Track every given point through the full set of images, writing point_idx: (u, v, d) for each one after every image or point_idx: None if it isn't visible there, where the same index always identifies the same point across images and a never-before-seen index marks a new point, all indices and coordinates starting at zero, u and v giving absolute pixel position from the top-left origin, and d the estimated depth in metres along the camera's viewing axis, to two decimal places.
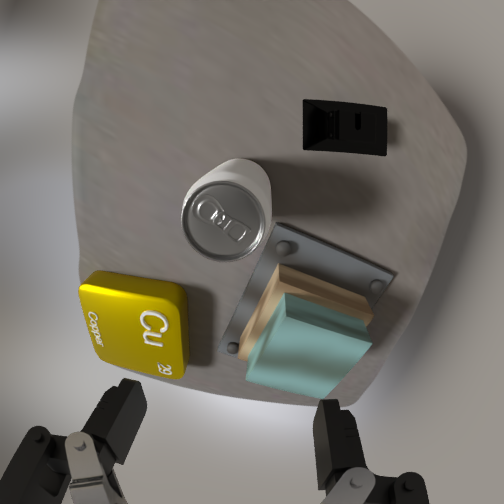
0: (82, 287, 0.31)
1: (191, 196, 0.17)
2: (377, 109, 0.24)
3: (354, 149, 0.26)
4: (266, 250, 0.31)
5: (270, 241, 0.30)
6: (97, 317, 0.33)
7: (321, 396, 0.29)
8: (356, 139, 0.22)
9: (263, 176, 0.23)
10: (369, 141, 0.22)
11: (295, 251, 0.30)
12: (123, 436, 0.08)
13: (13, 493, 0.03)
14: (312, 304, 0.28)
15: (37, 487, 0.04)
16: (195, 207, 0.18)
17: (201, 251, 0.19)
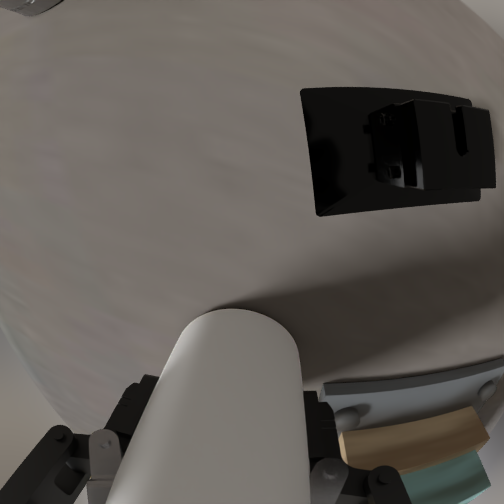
0: None
1: None
2: (459, 102, 0.09)
3: (429, 197, 0.11)
4: None
5: None
6: None
7: None
8: (461, 183, 0.07)
9: (270, 388, 0.08)
10: (485, 184, 0.07)
11: (366, 412, 0.14)
12: None
13: (24, 488, 0.04)
14: (406, 477, 0.11)
15: (51, 485, 0.05)
16: None
17: None
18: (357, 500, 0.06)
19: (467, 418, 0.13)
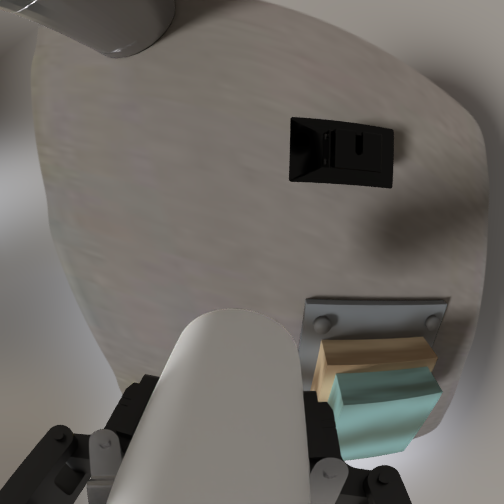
0: None
1: None
2: (383, 130, 0.21)
3: (354, 180, 0.22)
4: (304, 332, 0.26)
5: (305, 322, 0.25)
6: None
7: (401, 449, 0.21)
8: (356, 167, 0.18)
9: (270, 387, 0.09)
10: (373, 169, 0.18)
11: (336, 322, 0.25)
12: None
13: (24, 488, 0.04)
14: (369, 374, 0.22)
15: (51, 485, 0.05)
16: None
17: None
18: (357, 500, 0.06)
19: (418, 343, 0.24)
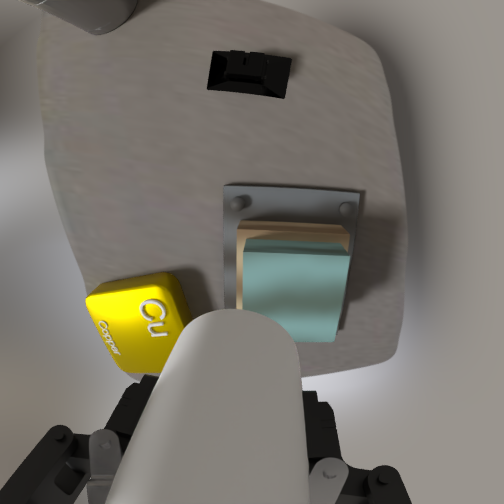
0: (87, 299, 0.35)
1: None
2: (280, 59, 0.27)
3: (252, 91, 0.28)
4: (224, 212, 0.32)
5: (224, 202, 0.32)
6: (107, 325, 0.36)
7: (329, 338, 0.28)
8: (241, 72, 0.24)
9: (269, 388, 0.08)
10: (254, 74, 0.24)
11: (250, 203, 0.32)
12: None
13: (24, 488, 0.04)
14: (277, 241, 0.29)
15: (51, 485, 0.05)
16: None
17: None
18: (357, 500, 0.06)
19: (333, 226, 0.31)
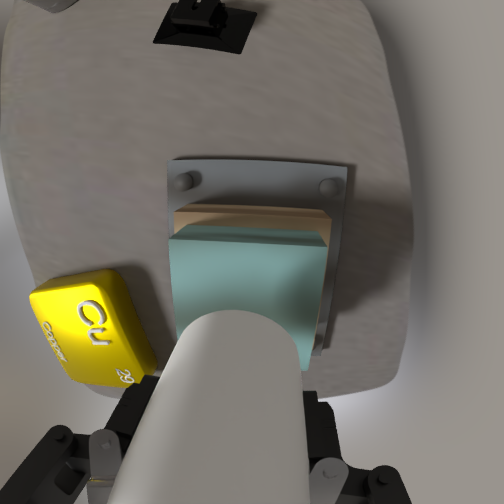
0: (30, 296, 0.26)
1: None
2: (246, 12, 0.19)
3: (204, 44, 0.20)
4: (169, 193, 0.24)
5: (169, 181, 0.24)
6: (50, 327, 0.28)
7: (301, 366, 0.20)
8: (187, 17, 0.16)
9: (269, 389, 0.08)
10: (201, 19, 0.16)
11: (200, 181, 0.24)
12: None
13: (25, 488, 0.04)
14: (227, 227, 0.21)
15: (51, 485, 0.05)
16: None
17: None
18: (357, 500, 0.06)
19: (310, 211, 0.23)
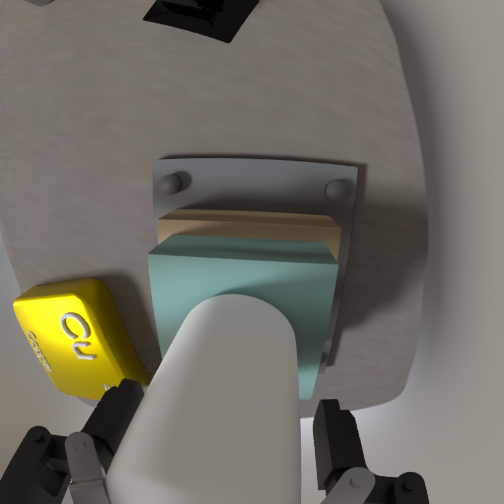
0: (14, 304, 0.23)
1: None
2: None
3: (192, 27, 0.17)
4: (154, 197, 0.21)
5: (154, 183, 0.21)
6: (35, 337, 0.24)
7: (304, 395, 0.17)
8: None
9: (262, 363, 0.10)
10: None
11: (189, 183, 0.21)
12: (123, 436, 0.08)
13: (13, 493, 0.03)
14: (218, 237, 0.18)
15: (37, 487, 0.04)
16: None
17: None
18: None
19: (315, 217, 0.20)
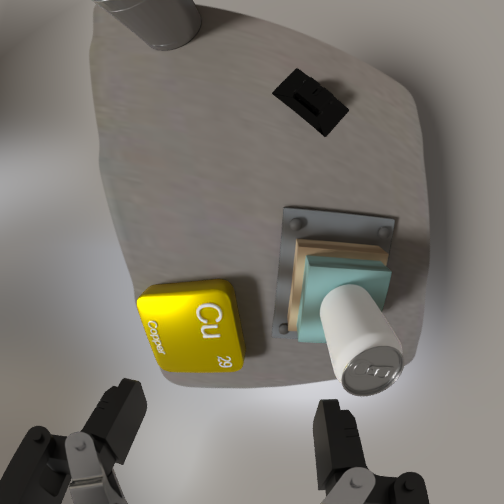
0: (140, 299, 0.39)
1: (347, 365, 0.20)
2: (342, 105, 0.32)
3: (305, 116, 0.33)
4: (283, 231, 0.37)
5: (284, 222, 0.37)
6: (157, 325, 0.40)
7: None
8: (307, 98, 0.29)
9: (375, 305, 0.25)
10: (315, 106, 0.29)
11: (306, 224, 0.37)
12: (123, 436, 0.08)
13: (13, 493, 0.03)
14: (332, 257, 0.33)
15: (37, 487, 0.04)
16: (350, 370, 0.20)
17: (358, 393, 0.21)
18: None
19: (373, 247, 0.36)
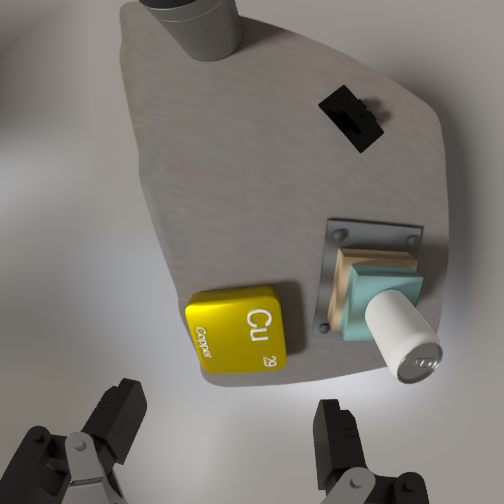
0: (189, 307, 0.42)
1: (403, 360, 0.23)
2: (379, 128, 0.35)
3: (346, 132, 0.36)
4: (327, 241, 0.40)
5: (328, 233, 0.40)
6: (205, 331, 0.43)
7: None
8: (354, 119, 0.31)
9: (415, 308, 0.28)
10: (360, 126, 0.32)
11: (347, 235, 0.39)
12: (123, 436, 0.08)
13: (13, 493, 0.03)
14: (372, 266, 0.36)
15: (37, 487, 0.04)
16: (404, 363, 0.23)
17: (407, 381, 0.24)
18: None
19: (403, 254, 0.39)
